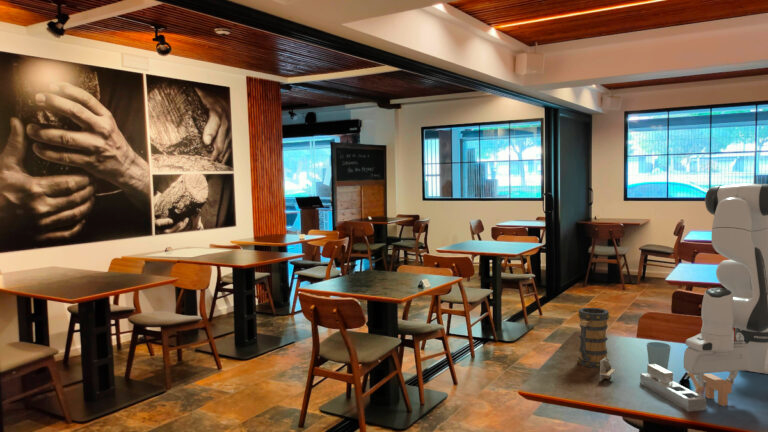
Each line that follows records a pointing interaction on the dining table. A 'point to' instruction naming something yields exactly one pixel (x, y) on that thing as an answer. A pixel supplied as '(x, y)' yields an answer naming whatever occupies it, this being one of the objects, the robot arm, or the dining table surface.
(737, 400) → the dining table surface
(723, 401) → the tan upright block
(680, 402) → the rail
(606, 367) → the architectural model
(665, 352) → the cup
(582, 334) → the mug
